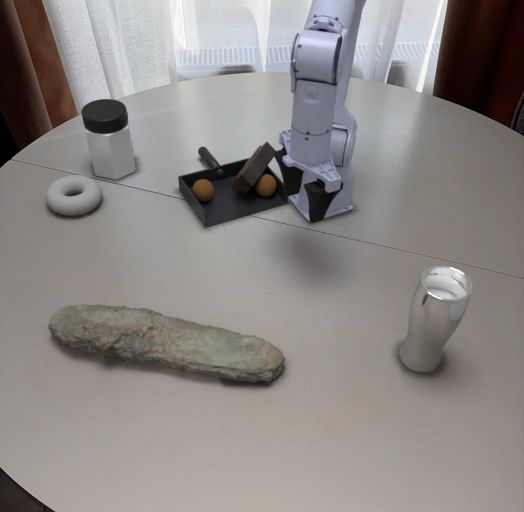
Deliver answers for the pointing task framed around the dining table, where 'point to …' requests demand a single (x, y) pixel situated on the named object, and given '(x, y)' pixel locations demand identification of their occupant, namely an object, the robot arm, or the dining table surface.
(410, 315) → the beer glass
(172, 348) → the elongated rock
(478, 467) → the dining table surface
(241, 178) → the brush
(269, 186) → the cork ball
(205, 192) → the cork ball
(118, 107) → the jar
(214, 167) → the dustpan
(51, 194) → the donut
